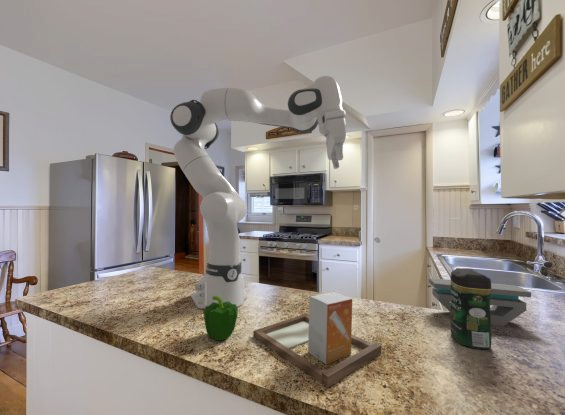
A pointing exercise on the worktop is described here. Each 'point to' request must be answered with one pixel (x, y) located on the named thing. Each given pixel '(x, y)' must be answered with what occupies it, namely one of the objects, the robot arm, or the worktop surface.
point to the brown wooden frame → (296, 333)
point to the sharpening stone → (501, 298)
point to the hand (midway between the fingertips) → (338, 164)
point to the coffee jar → (471, 308)
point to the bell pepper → (220, 319)
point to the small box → (330, 326)
